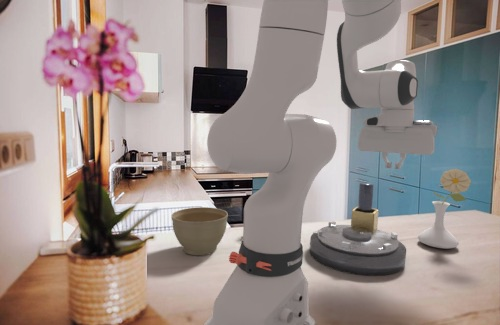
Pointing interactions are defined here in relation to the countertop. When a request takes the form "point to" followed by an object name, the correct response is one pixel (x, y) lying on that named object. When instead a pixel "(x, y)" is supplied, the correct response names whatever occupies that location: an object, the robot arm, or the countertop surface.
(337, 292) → the countertop surface
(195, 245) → the planter bowl
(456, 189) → the flower in vase
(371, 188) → the pin
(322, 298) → the countertop surface
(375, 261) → the housing
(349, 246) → the grey round disc
